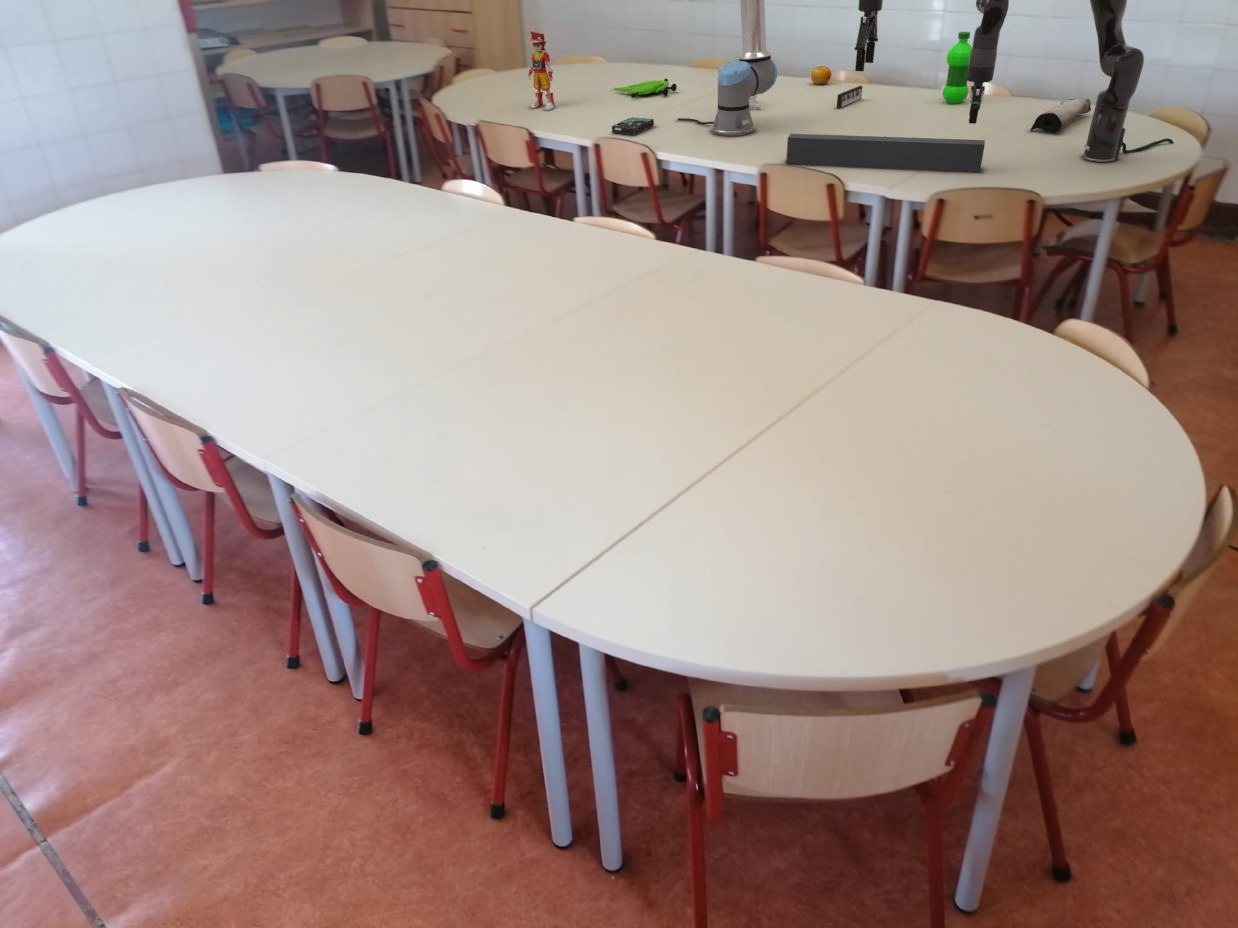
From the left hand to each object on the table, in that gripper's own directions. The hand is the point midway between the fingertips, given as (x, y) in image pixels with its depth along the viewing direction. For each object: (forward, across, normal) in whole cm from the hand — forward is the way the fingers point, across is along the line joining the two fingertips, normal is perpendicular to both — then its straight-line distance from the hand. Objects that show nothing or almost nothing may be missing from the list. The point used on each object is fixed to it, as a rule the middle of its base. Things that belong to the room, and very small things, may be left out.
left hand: (864, 67), depth 305 cm
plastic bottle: (+24, +62, -23) cm, 71 cm away
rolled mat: (+24, +39, -64) cm, 79 cm away
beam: (+24, -28, -15) cm, 40 cm away
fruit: (+24, +82, +36) cm, 93 cm away
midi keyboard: (+24, +50, +16) cm, 58 cm away
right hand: (+9, -24, -40) cm, 48 cm away
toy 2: (+25, +50, +108) cm, 122 cm away
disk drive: (+24, -8, +84) cm, 88 cm away
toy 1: (+25, +15, +138) cm, 141 cm away
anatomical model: (+24, +36, +55) cm, 70 cm away
